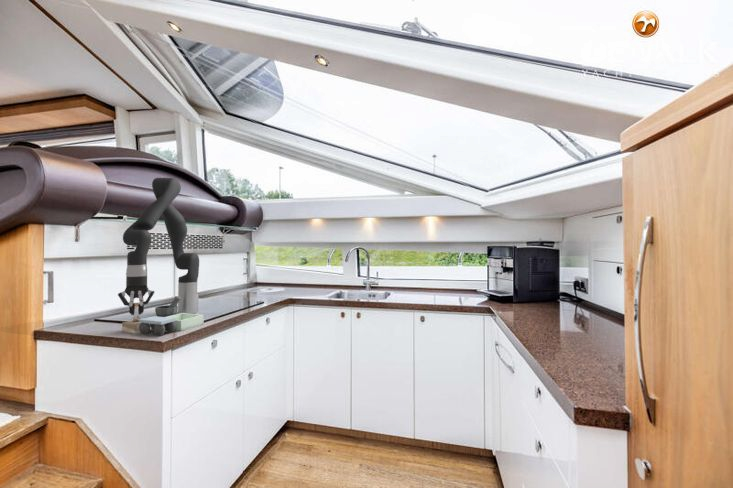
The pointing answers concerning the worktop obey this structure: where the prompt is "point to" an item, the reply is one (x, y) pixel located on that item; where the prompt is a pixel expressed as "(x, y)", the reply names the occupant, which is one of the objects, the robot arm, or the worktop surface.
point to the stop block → (131, 327)
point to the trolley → (157, 325)
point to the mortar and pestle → (168, 308)
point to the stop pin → (136, 312)
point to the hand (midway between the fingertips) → (136, 314)
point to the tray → (187, 321)
